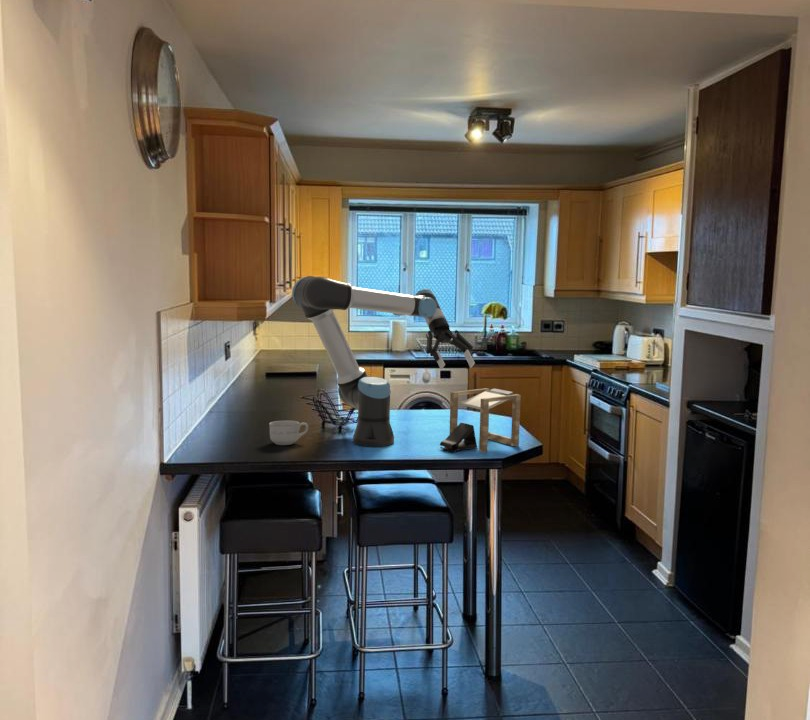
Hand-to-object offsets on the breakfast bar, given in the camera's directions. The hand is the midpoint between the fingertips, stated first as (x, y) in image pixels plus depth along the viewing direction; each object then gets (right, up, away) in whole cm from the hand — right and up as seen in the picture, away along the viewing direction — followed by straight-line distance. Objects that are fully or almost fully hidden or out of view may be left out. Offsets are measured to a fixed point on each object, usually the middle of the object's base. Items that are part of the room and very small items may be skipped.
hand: (457, 366), depth 269 cm
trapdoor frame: (+9, -29, -4) cm, 31 cm away
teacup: (-62, -28, -9) cm, 69 cm away
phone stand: (+4, -25, -9) cm, 26 cm away
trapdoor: (+11, -14, -5) cm, 18 cm away
